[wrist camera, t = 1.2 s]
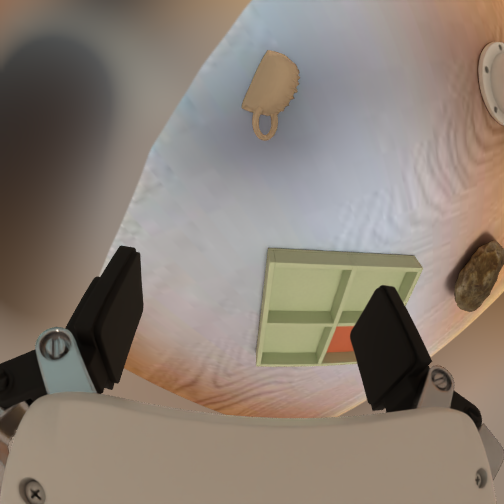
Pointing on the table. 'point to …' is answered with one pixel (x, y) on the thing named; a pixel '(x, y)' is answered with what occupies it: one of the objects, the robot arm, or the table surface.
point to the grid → (322, 302)
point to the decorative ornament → (271, 90)
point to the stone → (479, 276)
